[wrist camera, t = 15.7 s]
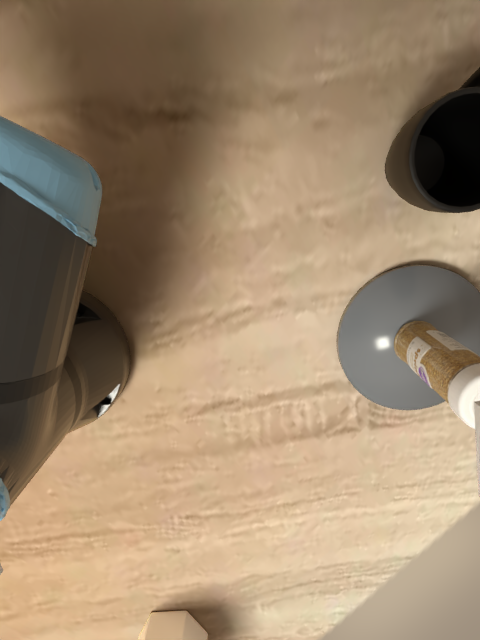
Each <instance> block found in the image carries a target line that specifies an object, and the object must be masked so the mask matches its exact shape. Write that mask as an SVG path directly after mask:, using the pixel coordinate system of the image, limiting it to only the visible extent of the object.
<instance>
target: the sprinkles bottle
mask: <svg viewBox="0 0 480 640" xmlns="http://www.w3.org/2000/svg"><path fill="white" fill-rule="evenodd" d="M394 350H395V353H396V355H397V356H398V357H399V358H400V359H401V360H402V361H404V362H406V363H407V364H408V365H409V366H410V368H411V369H412V370H413V371H414V372H415V373H416V374H417V375H418V376H419V377H420V378H421V379H422V380H423V381H424V382H425V383H426V384H427V385H428V386H429V387H431V388H432V389H434V390H435V391H436V392H437V393H438V394H439V395H440V396H441V397H442V398H443V399H444V400H445V401H446V402H447V403H449V405H450V407H451V409H452V410H453V412H454V413H455V414H456V415H457V416H458V417H459V418H460V419H461V420H462V421H463V422H464V423H466V424H467V425H468V426H470V427H472V428H474V429H475V415H474V402H475V401H480V357H479V356H478V355H477V354H476V353H474V352H473V351H471V350H470V349H468V348H467V347H465V346H463V345H462V344H460V343H459V342H457V341H456V340H454V339H453V338H451V337H449V336H448V335H446V334H445V333H443V332H440V331H438V330H437V329H436V328H435V327H434V326H433V325H432V324H430V323H427V322H425V321H413V322H410V323H407V324H405V325H404V326H403V327H401V328H400V330H399V331H398V333H397V334H396V336H395V339H394Z"/></svg>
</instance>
